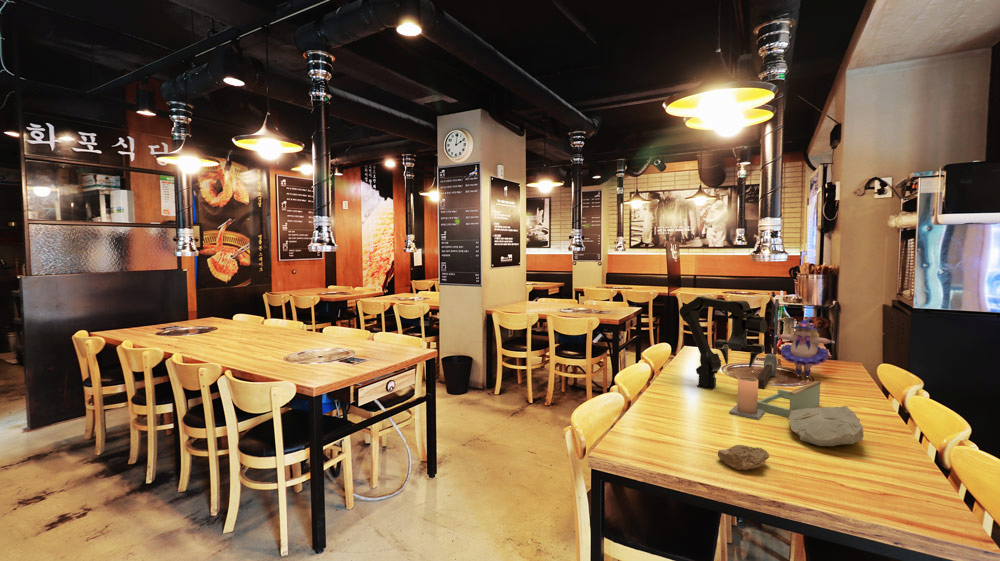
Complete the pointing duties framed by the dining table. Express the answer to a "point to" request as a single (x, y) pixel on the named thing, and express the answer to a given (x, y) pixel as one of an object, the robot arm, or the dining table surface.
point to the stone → (826, 425)
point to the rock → (743, 457)
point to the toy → (804, 347)
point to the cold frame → (793, 399)
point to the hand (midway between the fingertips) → (738, 365)
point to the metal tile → (752, 416)
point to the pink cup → (747, 395)
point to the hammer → (767, 370)
